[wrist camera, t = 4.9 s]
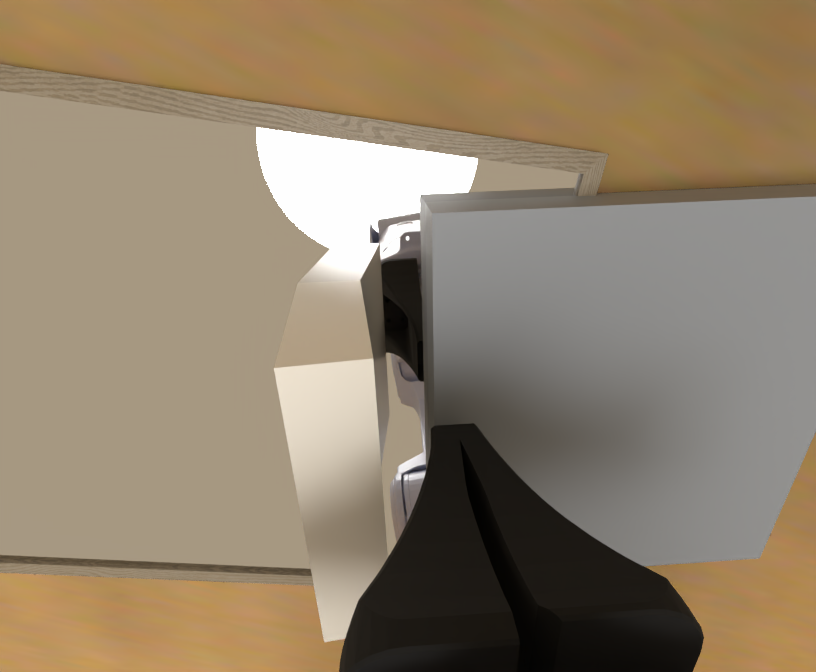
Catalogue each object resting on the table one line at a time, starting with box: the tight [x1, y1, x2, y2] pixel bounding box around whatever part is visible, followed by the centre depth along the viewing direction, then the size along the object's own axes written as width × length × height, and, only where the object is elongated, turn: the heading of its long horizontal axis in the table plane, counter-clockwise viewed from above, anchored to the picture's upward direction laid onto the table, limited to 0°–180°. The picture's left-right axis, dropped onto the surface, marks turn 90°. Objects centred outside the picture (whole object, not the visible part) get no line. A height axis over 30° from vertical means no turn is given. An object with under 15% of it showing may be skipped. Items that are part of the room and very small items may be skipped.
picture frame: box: [0, 64, 608, 586], centre depth 15 cm, size 19×1×28 cm
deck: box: [425, 184, 816, 566], centre depth 15 cm, size 14×13×2 cm
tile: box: [274, 280, 388, 642], centre depth 13 cm, size 9×6×2 cm
